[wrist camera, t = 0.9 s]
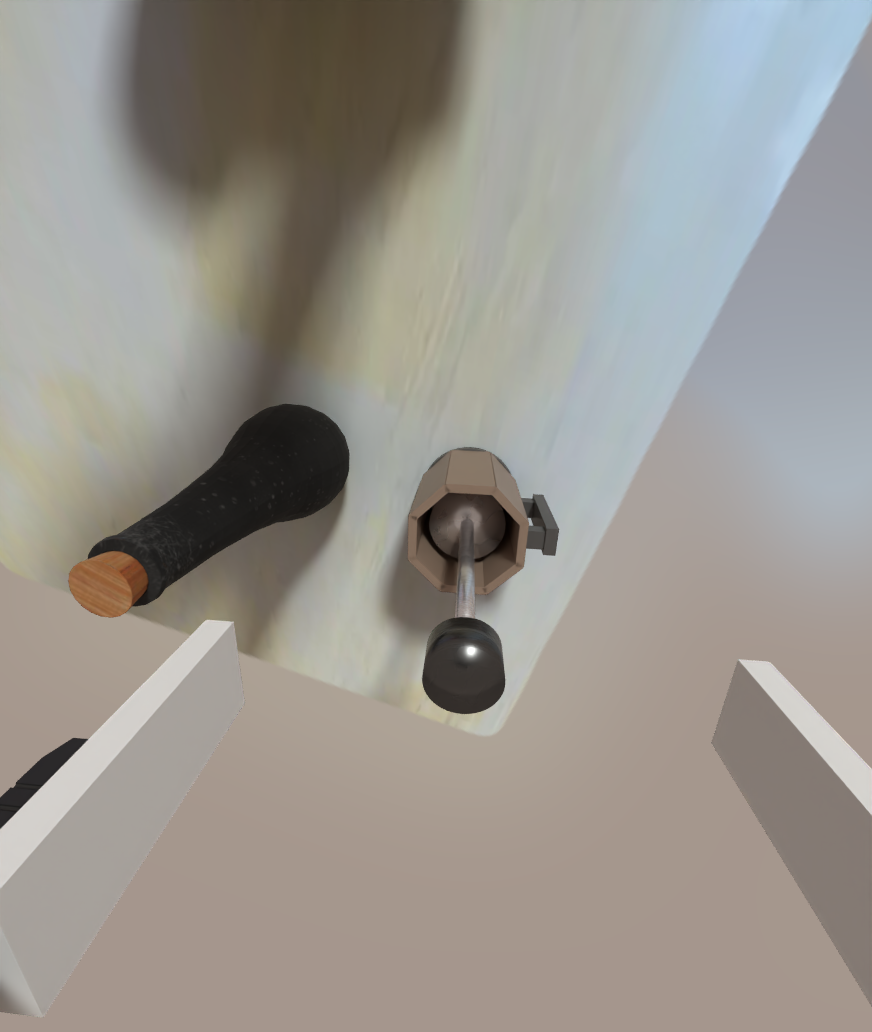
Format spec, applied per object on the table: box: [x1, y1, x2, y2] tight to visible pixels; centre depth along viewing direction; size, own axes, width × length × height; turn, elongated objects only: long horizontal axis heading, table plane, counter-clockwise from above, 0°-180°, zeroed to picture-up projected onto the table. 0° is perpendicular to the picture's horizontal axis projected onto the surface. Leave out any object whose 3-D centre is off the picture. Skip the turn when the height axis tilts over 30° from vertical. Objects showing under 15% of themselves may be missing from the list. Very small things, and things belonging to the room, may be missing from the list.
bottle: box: [68, 404, 349, 617], centre depth 35 cm, size 11×11×30 cm
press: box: [408, 447, 559, 595], centre depth 43 cm, size 10×12×13 cm
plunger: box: [422, 492, 506, 714], centre depth 32 cm, size 7×7×21 cm
